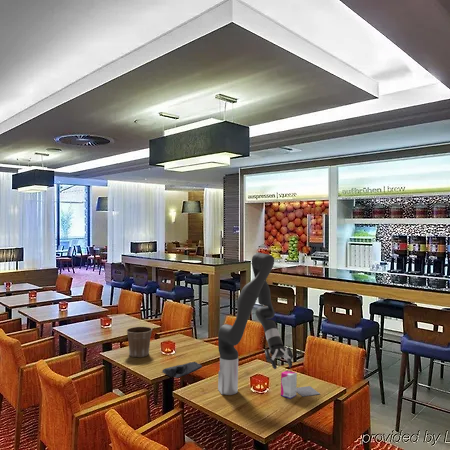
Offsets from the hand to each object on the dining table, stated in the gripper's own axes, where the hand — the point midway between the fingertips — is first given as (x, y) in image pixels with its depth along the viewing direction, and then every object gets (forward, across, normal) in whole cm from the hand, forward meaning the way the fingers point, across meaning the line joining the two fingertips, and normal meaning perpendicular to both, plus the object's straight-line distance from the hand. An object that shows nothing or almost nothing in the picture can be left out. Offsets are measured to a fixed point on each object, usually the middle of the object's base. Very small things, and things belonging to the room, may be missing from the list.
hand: (283, 367), depth 207 cm
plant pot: (-46, -64, +62) cm, 100 cm away
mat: (+12, +11, +5) cm, 17 cm away
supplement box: (+13, 0, +4) cm, 14 cm away
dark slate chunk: (-21, -43, +38) cm, 61 cm away
